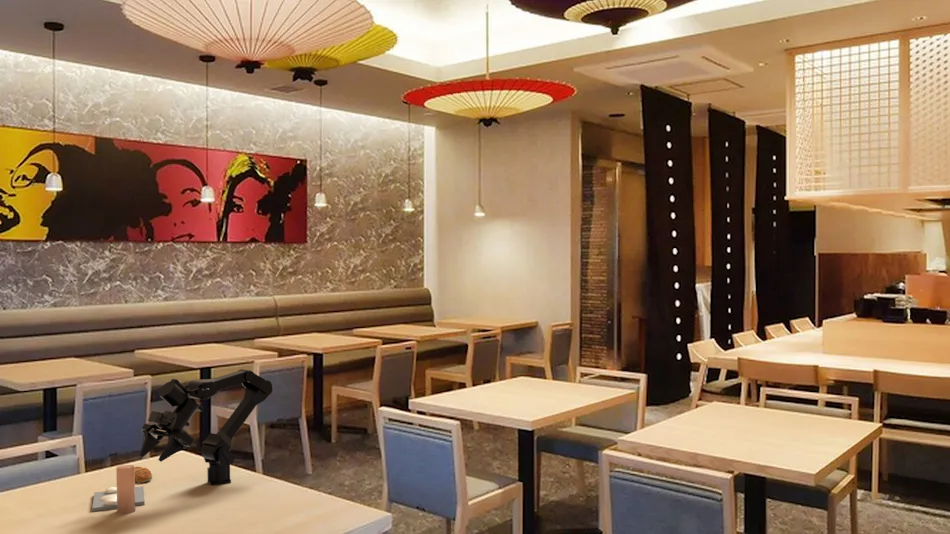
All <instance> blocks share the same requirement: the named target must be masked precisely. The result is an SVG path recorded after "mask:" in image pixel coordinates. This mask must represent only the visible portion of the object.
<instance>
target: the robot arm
mask: <svg viewBox="0 0 950 534" xmlns="http://www.w3.org/2000/svg"><path fill="white" fill-rule="evenodd" d="M240 384H241V385H242V387H244V388H245V389H244V394H243V398H242V400H241V401H240V402H239V404H238V405H237V407H236V408H235V409H234V410H233V412H232V414H231V415H230V417H228V419H227V420H226V421H225V423H224V424H223V426H222V427H221V428H220V430H219V431H218V432H216V433H213V432H210V433H209V434H208V435H207V437H206V438H205V440H204V441H202V445H201V447H200V453H201V456H202V458H203V460H204V462H205V463H207V464H208V467H207V469H206V472H207V474H206V475H207V477H206V478H207V480H206V481H207V482H208V483H209V485H211V486H213V485H220V484H221V483H222V484H229V482H230V483H232V479H231V464H234V462H235V458H236V456H235V455H234V454H233V453H232V452H231V451H230V450H231V448H232V441H233V438H235V436H236V435H237V433H238V432H239V431H240V429H241V428H242V427H243V425H244V423H245V422H246V421H247V419H248V418H249V417H250V415H251V414H252V412H253V411H254V410H255V408H256V407H257V406H258V405H259V404H261V403H263V402H265V401H266V400H267V399H268V398H269V397H270V395H271V394H272V393H273V384H272V382H271V381H270V380H267V379H265V378H263V377H262V376H260V375H257V374H256V373H255V372H254V371H252V370H250V369H246V368H245V369H243V368H240V369H239V370H237V371H236V370H235V371H233V372H230V373H227V374H223V375H220V376H218V377H214V378H207V379H204V378H203V379H194V380H191V381H190V382H188V384H186V385H182V384H181V382H180V381H179V380H178V379H177V378H172V379H171V380H170V381H167V382H166V383H165V384H164V385H161V386H160V388H159V390H158V396H159V397H160V398H161V399H162V400H164V401H165V402H166V403H167V404H168V405H169V406H170V407H174V409H173V410H172V411H169V410H165V411H164V412H160V411H154V410H151V411H150V414H149V415H148V416H149V417H148V418H147V422H146V423H144V424H143V425H142V427H141V429H140V430H141V431H142V434H143V436H144V440H143V444H142V447H141V450H140V453H139V456H140V457H141V458H143V457H146V455H147V454H148V453H150V452H151V451H152V450H154V448H155V447H157V446H158V445H159V444H161V440H162V439H164V438H168V439H167V440H168V441H167V444H166V446H165V447H164V449H163V450H162V453H161V454H160V455H159V458H158V461H159V462H161V463H162V462H163V461H165V460H166V459H168V458H170V457H171V456H173V455H174V454H176V453H178V452H180V451H182V450H184V449H187V447H188V448H190V447H191V446H192V445H193V443H194V437H193V436H192V435H191V434H189V432H187V431H186V430H185V429H184V428H185V427H187V428H188V427H189V426H190V425H191V424H190V422H189V421H190V420H191V418H192V417H193V416H194V414H195V413H196V412H204V407H203V402H199V401H197V400H202V401H204V400H205V401H206V400H208V399H210V398H212V397H213V396H215V395H216V394H217V393H218V392H220V391H222V390H225V389H226V390H227V389H228V388H232V387H234V386H237V385H240ZM196 399H197V400H196ZM151 422H153V423H151ZM155 423H156V424H155Z"/></svg>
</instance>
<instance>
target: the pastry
mask: <svg viewBox="0 0 950 534" xmlns="http://www.w3.org/2000/svg"><path fill="white" fill-rule="evenodd" d="M134 470H135V483H136V482H137V484H139V483H141V484H143V483H145V482H150V481H152V478H153V474H152V472H151V470H149V468H147V467H143V466H134Z"/></svg>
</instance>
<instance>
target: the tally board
mask: <svg viewBox="0 0 950 534" xmlns="http://www.w3.org/2000/svg"><path fill="white" fill-rule="evenodd" d="M92 500H93V501H92V508H91V509H92V510H91V511H92V512H99V511H107V510H108V511H109V510H115V509H116V510H117V486H113V487H108V488H105V490H104V491H102V490H101V491H97V492H93V499H92ZM137 506H138V507H139V506H145V489H144V486H135V507H137Z"/></svg>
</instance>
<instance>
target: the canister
mask: <svg viewBox="0 0 950 534" xmlns="http://www.w3.org/2000/svg"><path fill="white" fill-rule="evenodd" d="M134 468H135V465H133V464H124V465H120V466H117V467H116V474H115V475H116V487H117V508H116V514H117V515H128V514H131V513H134V512H135V511H136V506H135V487H136V484H135V483H136V482H135V470H134Z"/></svg>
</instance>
